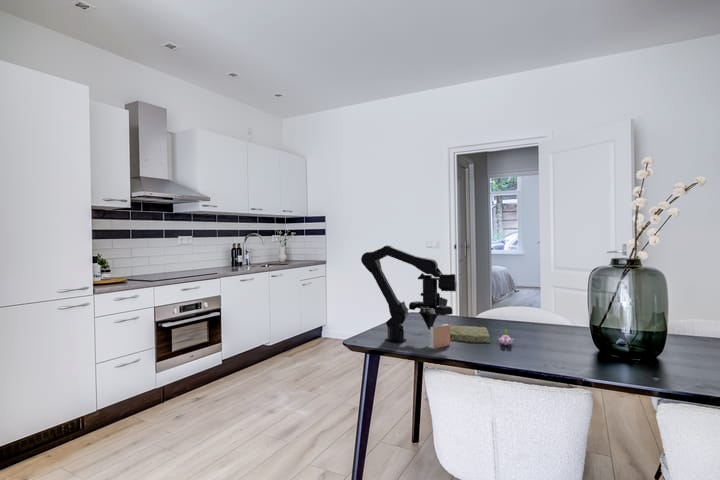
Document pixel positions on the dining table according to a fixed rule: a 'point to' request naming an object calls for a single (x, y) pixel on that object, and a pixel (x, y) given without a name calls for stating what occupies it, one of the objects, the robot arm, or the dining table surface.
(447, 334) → the standing tile
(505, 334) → the pink bulbous piece
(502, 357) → the dining table surface
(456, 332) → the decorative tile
